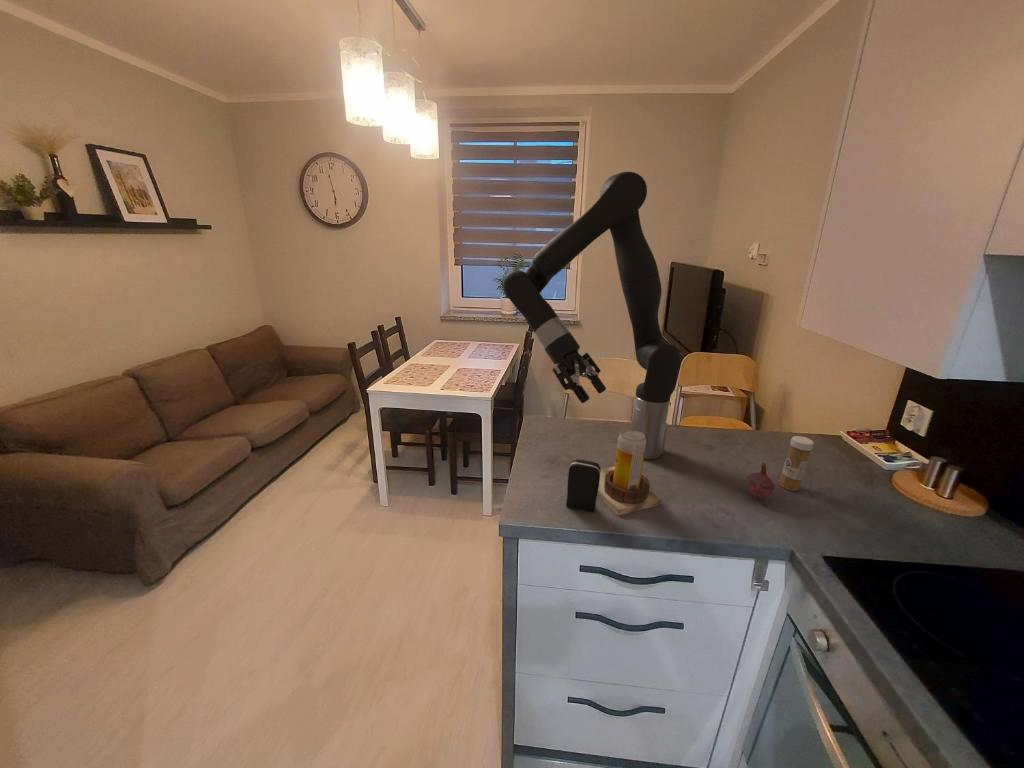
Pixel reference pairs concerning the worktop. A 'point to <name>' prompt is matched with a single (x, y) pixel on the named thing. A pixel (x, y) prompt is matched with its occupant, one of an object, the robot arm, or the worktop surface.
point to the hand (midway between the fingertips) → (594, 396)
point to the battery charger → (583, 485)
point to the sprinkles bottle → (796, 463)
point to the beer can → (629, 459)
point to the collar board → (625, 506)
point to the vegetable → (760, 484)
